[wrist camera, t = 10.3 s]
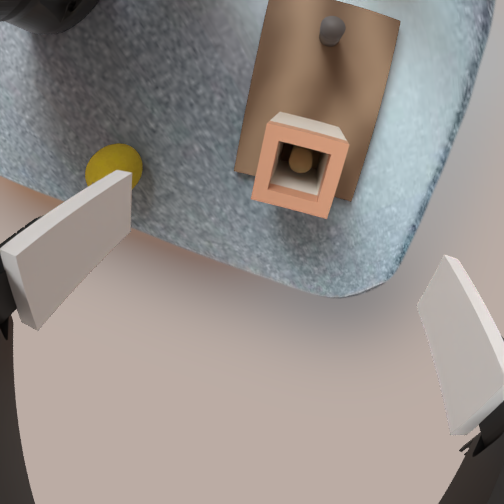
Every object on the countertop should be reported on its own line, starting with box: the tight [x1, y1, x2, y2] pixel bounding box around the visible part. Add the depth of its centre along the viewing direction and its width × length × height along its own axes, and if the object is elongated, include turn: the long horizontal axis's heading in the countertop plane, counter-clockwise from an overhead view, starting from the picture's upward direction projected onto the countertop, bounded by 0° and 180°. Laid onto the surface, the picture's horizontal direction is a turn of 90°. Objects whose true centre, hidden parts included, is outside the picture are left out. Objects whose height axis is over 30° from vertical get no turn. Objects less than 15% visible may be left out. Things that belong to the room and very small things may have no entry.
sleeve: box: [251, 112, 349, 219], centre depth 25 cm, size 6×6×9 cm
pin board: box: [234, 0, 400, 201], centre depth 24 cm, size 12×19×7 cm, turn 169°
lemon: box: [85, 143, 143, 189], centre depth 30 cm, size 6×6×8 cm
